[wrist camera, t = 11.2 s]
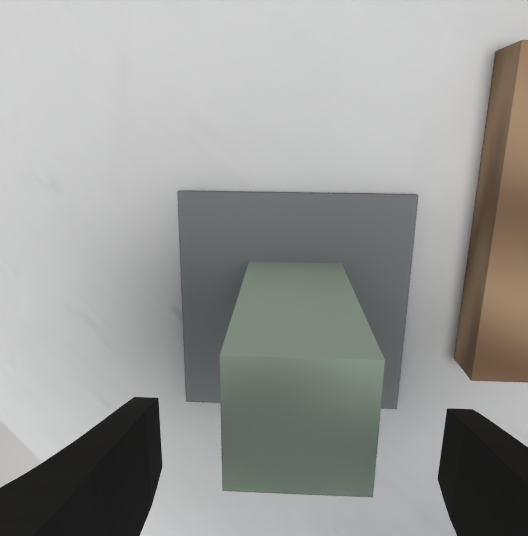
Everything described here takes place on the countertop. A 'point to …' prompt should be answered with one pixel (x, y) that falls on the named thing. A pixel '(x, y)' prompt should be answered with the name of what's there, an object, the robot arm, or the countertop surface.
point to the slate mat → (291, 250)
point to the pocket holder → (500, 234)
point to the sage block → (299, 384)
